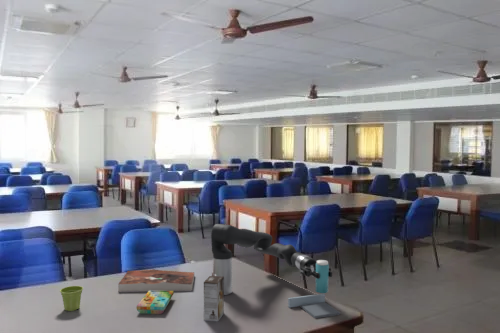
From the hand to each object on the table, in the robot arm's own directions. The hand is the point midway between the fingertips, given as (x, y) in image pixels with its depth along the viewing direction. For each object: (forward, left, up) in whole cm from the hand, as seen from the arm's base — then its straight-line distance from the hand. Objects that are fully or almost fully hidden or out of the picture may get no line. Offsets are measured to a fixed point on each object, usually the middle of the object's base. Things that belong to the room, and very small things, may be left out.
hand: (325, 275), depth 188 cm
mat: (-1, +2, -16) cm, 16 cm away
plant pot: (-102, +40, -16) cm, 111 cm away
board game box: (-61, +63, -17) cm, 89 cm away
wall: (-3, +11, -16) cm, 20 cm away
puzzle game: (-67, +31, -17) cm, 76 cm away
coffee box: (-46, +11, -16) cm, 50 cm away
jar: (0, +3, -8) cm, 8 cm away
